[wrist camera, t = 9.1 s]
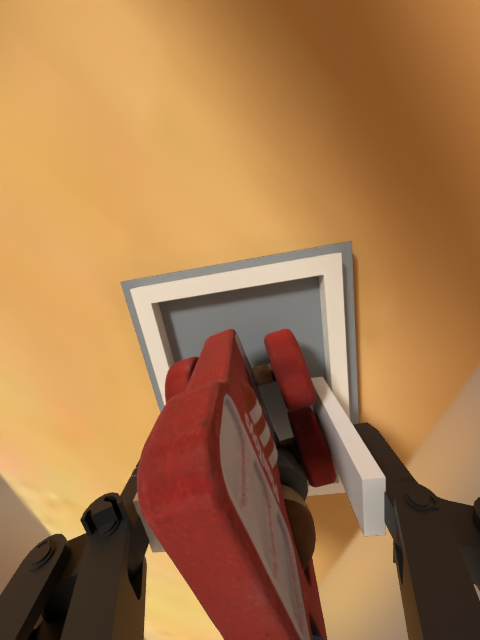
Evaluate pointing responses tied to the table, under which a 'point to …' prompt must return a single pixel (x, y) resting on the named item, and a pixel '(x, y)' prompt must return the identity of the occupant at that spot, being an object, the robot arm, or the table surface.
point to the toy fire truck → (239, 488)
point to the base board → (256, 321)
